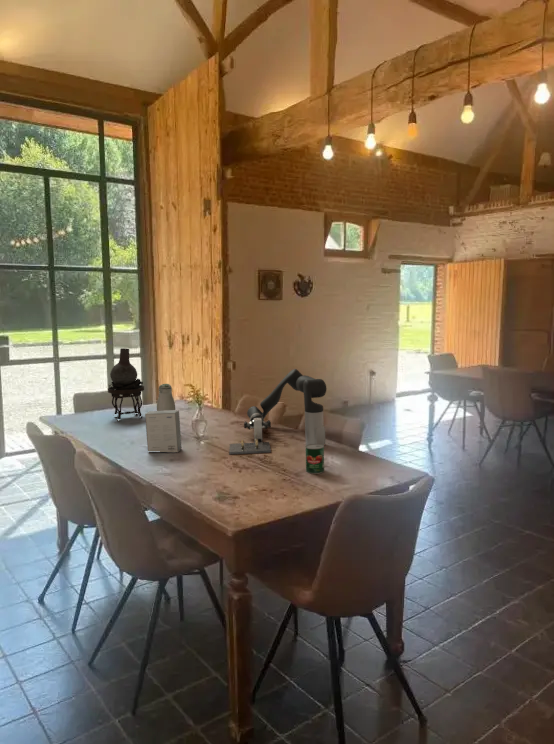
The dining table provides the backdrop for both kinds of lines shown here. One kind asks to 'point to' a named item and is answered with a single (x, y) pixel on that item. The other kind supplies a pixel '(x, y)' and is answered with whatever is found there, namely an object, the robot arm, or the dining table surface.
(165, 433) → the hard drive box
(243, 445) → the pin tray
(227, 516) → the dining table surface
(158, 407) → the grey bottle
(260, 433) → the block
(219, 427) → the dining table surface
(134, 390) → the brazier
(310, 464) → the canned tomato
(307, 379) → the robot arm
